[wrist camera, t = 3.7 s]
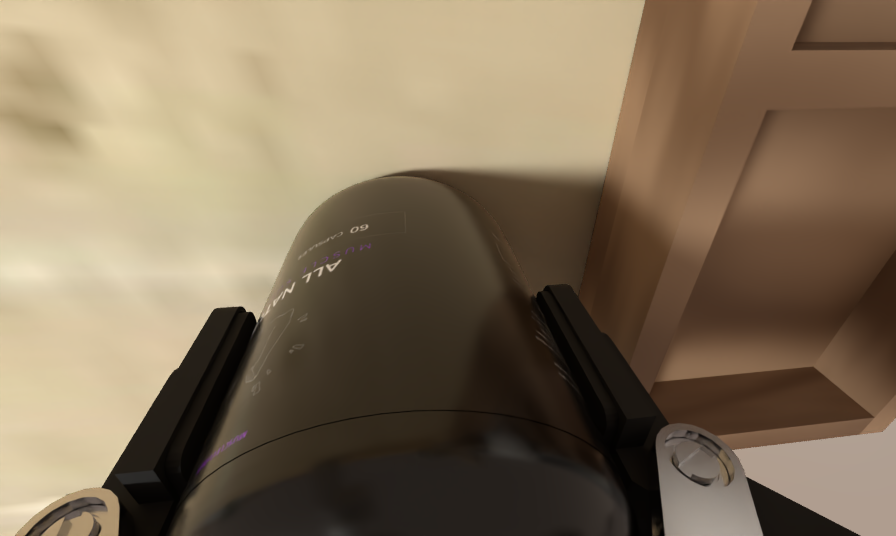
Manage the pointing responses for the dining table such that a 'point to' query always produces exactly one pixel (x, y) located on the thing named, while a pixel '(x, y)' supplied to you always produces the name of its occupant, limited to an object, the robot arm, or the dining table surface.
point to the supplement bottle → (403, 390)
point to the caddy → (755, 218)
